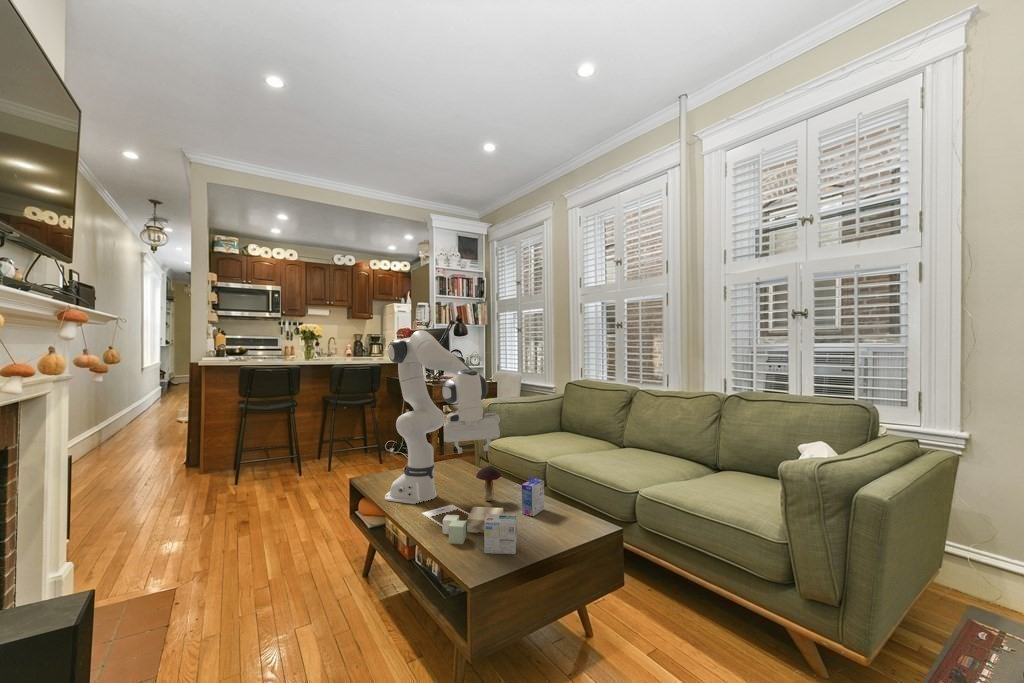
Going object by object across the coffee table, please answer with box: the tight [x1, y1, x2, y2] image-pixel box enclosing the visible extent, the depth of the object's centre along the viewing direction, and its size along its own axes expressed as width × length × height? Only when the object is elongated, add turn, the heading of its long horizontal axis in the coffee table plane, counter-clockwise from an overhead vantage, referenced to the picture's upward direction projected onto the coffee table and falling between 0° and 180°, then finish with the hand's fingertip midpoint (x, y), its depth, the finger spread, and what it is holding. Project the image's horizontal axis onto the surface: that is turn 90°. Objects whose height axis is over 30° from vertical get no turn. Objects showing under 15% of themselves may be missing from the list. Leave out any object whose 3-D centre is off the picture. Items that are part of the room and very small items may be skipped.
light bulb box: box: [483, 513, 518, 555], centre depth 145 cm, size 11×7×11 cm, turn 88°
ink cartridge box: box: [521, 474, 545, 517], centre depth 178 cm, size 10×6×14 cm, turn 147°
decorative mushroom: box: [475, 465, 502, 502], centre depth 190 cm, size 11×11×15 cm
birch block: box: [466, 506, 504, 534], centre depth 164 cm, size 12×12×5 cm
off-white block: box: [442, 514, 460, 535], centre depth 159 cm, size 5×5×5 cm
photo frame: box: [421, 504, 470, 528], centre depth 172 cm, size 15×1×18 cm
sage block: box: [448, 519, 467, 545], centre depth 151 cm, size 5×5×6 cm
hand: (473, 452), depth 158 cm, fingers open, 8 cm apart
